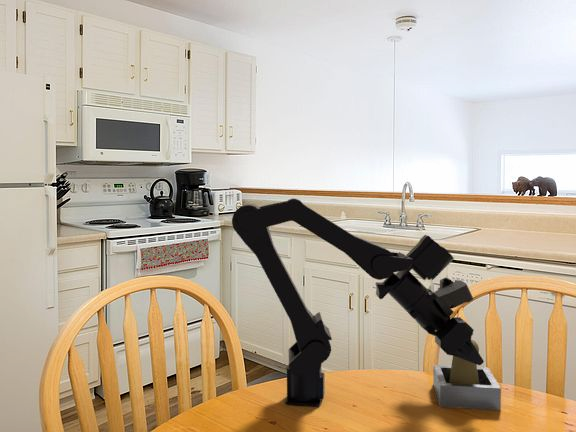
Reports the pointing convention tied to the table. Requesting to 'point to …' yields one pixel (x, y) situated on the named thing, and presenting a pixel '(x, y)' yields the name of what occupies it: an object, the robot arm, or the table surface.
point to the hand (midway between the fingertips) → (472, 354)
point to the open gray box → (467, 390)
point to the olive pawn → (464, 370)
